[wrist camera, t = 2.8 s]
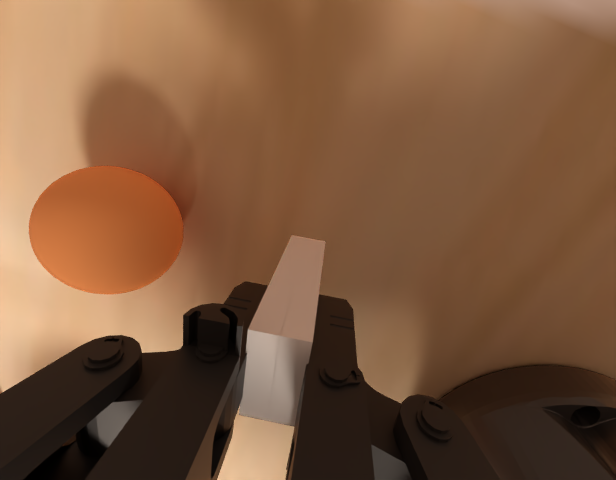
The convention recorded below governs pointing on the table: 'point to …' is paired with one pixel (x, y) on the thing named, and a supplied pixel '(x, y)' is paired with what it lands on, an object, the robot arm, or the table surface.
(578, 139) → the table surface
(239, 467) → the table surface
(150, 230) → the ball
